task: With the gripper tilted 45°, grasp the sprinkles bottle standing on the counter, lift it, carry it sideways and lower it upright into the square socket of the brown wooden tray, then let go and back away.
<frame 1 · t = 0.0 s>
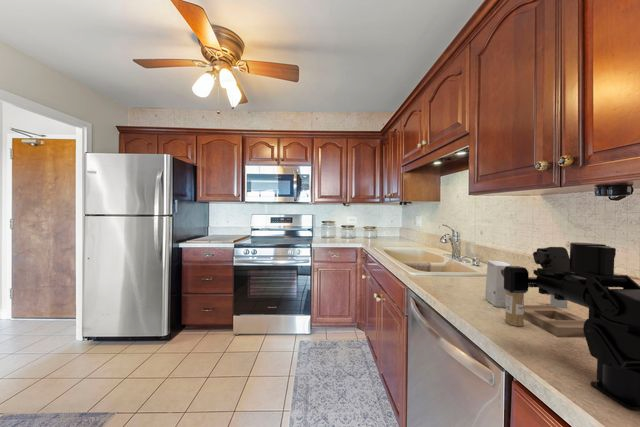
hand: (517, 271, 72), 17 cm above the counter, tool horizontal, fingers open, 9 cm apart
skincare box: (498, 304, 93), on the counter
brown wooden tray: (553, 323, 77), on the counter
lighter: (553, 306, 91), on the counter
sprinkles bottle: (513, 323, 77), on the counter
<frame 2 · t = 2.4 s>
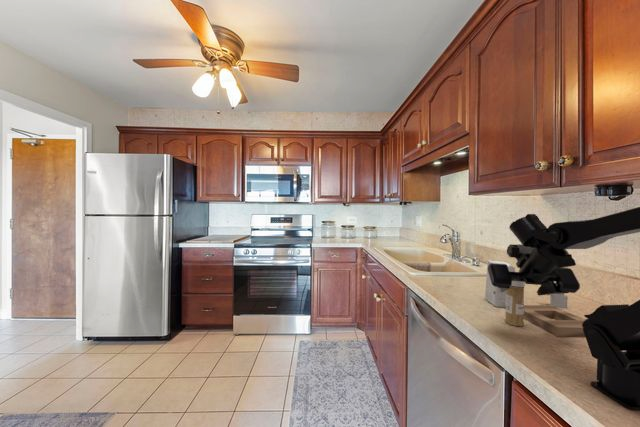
hand: (519, 292, 74), 10 cm above the counter, tool tilted 45°, fingers open, 9 cm apart
nothing on the counter moved.
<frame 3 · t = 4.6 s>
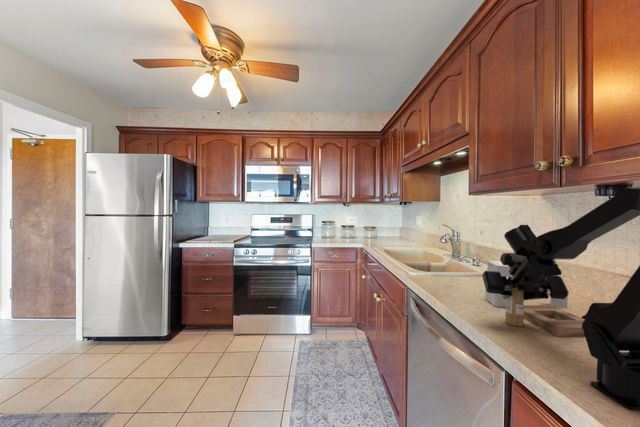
hand: (512, 298, 78), 7 cm above the counter, tool tilted 45°, fingers closed on sprinkles bottle, 4 cm apart
sprinkles bottle: (513, 323, 77), on the counter, touching gripper
everything else where it was.
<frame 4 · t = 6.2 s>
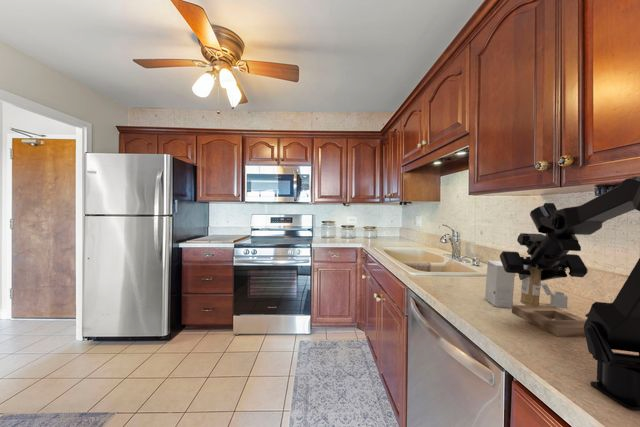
hand: (529, 279, 78), 13 cm above the counter, tool tilted 45°, fingers closed on sprinkles bottle, 4 cm apart
sprinkles bottle: (529, 305, 77), point 5 cm above the counter, touching gripper
everything else where it was.
when the fingers open (8 cm above the counter, at t = 8.3 s): sprinkles bottle stays where it is, resting in brown wooden tray.
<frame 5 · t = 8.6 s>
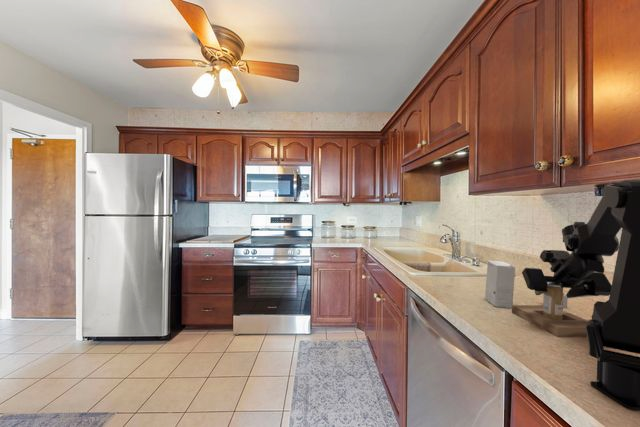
hand: (551, 295, 78), 8 cm above the counter, tool tilted 45°, fingers open, 8 cm apart
sprinkles bottle: (552, 324, 77), resting in brown wooden tray
everything else where it was.
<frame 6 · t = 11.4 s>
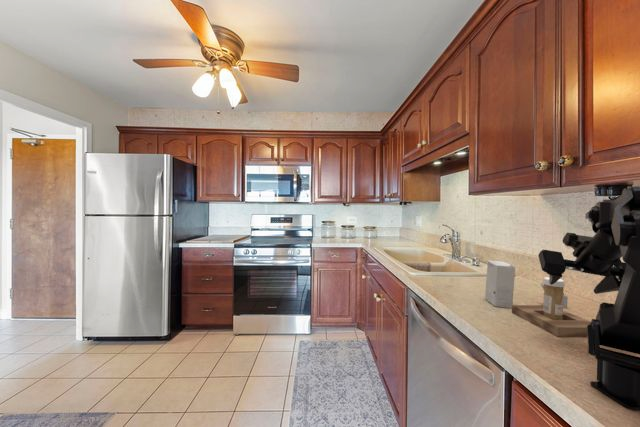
hand: (572, 287, 68), 13 cm above the counter, tool tilted 40°, fingers open, 9 cm apart
nothing on the counter moved.
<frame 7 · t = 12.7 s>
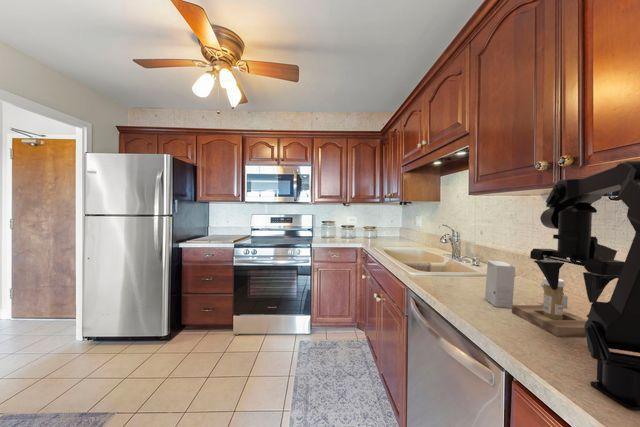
hand: (572, 295, 62), 13 cm above the counter, tool pointing down, fingers open, 9 cm apart
nothing on the counter moved.
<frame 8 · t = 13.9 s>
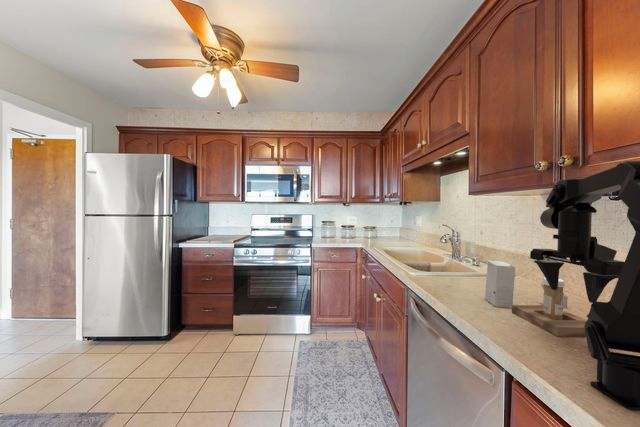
hand: (571, 295, 62), 13 cm above the counter, tool pointing down, fingers open, 9 cm apart
nothing on the counter moved.
at the end: sprinkles bottle 0.4 cm off-centre on the brown wooden tray, point 0.0 cm above the brown wooden tray's base; sprinkles bottle tilted 0°; the gripper is holding nothing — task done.
